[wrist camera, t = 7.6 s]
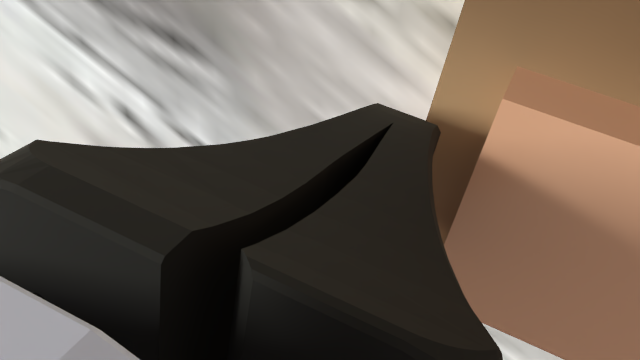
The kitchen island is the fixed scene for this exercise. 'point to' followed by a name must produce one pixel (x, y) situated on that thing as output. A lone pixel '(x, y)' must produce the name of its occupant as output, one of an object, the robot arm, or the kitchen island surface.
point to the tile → (555, 221)
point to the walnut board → (530, 53)
